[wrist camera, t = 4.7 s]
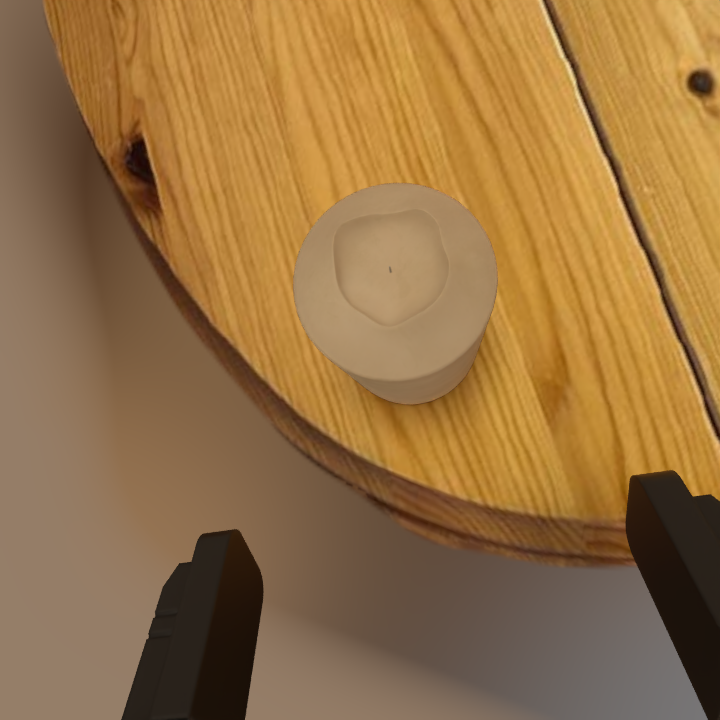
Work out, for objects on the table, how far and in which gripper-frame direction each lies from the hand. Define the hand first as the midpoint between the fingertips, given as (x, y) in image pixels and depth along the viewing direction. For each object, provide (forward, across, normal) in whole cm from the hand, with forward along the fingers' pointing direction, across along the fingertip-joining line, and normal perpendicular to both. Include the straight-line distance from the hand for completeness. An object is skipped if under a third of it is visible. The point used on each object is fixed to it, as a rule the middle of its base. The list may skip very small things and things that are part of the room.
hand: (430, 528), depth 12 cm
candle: (+12, 0, +4) cm, 13 cm away
